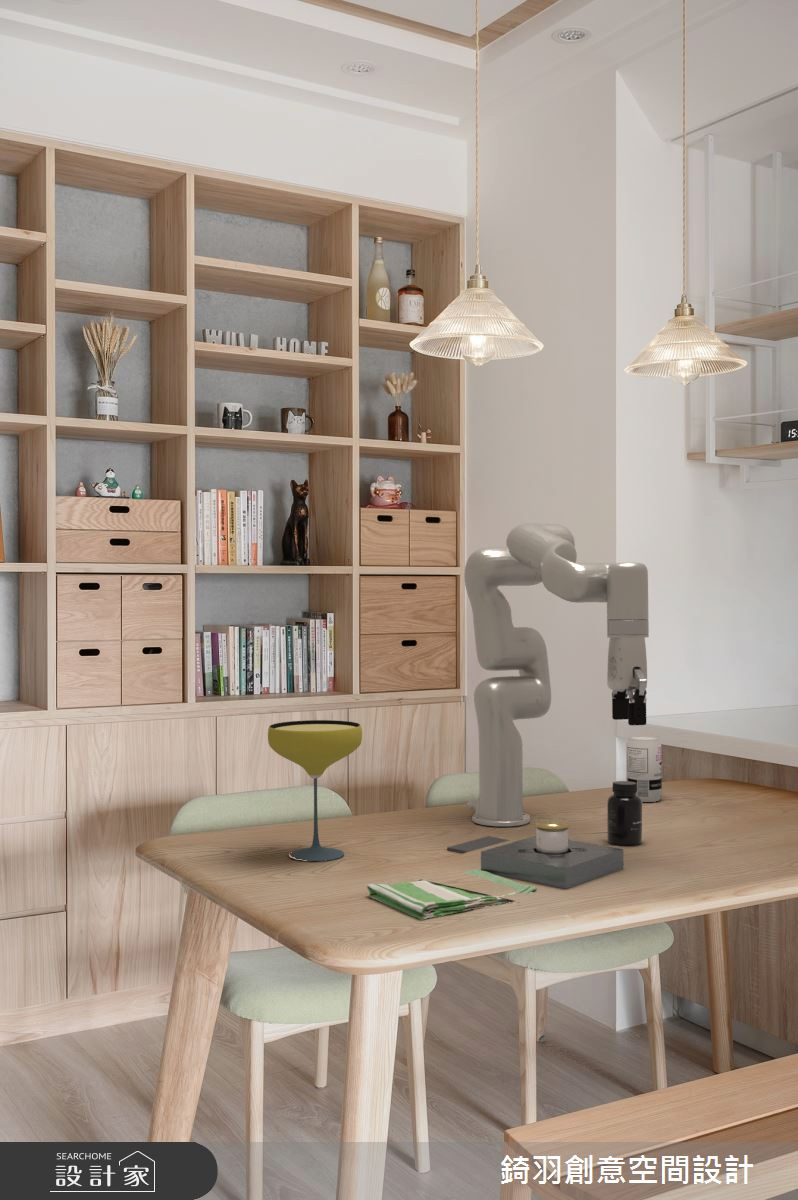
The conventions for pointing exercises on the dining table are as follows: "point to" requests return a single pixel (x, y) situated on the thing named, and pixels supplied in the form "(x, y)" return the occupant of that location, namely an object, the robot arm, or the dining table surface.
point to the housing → (552, 863)
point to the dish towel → (441, 896)
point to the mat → (475, 844)
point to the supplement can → (645, 766)
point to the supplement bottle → (624, 815)
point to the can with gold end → (552, 837)
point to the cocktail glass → (315, 761)
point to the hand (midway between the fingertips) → (628, 722)
